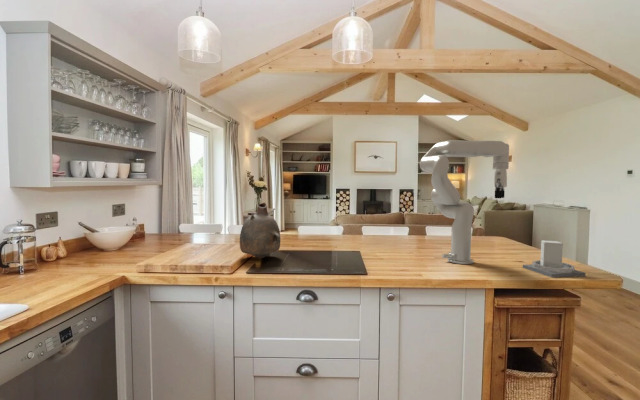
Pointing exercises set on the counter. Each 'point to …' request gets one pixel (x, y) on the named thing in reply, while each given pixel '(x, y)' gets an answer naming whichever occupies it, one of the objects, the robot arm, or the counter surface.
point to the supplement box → (551, 254)
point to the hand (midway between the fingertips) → (499, 198)
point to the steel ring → (567, 268)
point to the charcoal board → (553, 274)
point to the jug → (260, 234)
